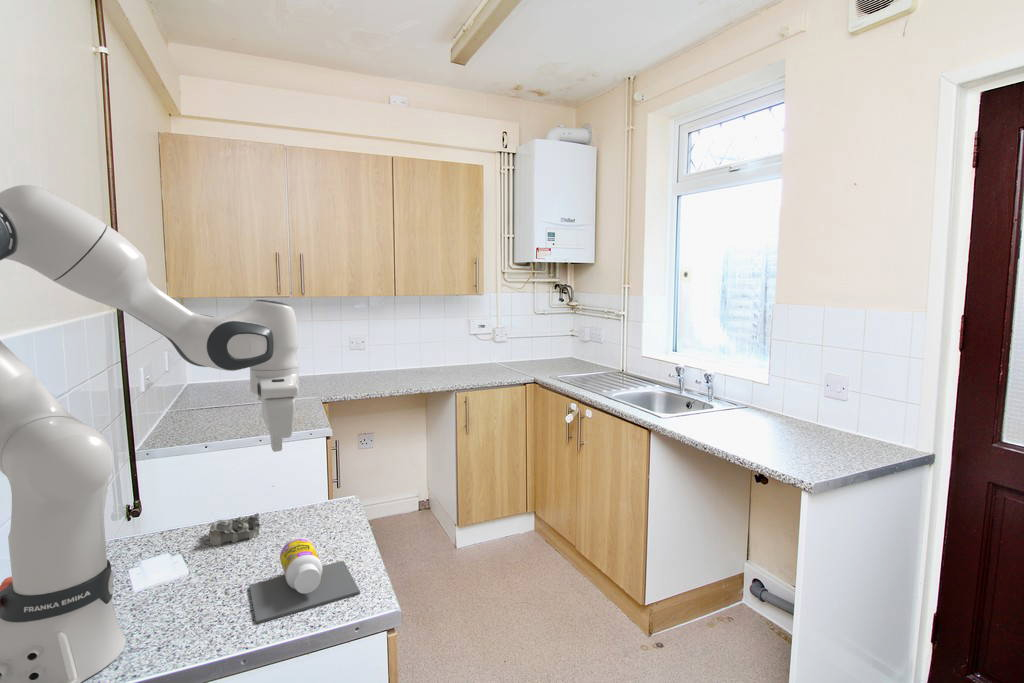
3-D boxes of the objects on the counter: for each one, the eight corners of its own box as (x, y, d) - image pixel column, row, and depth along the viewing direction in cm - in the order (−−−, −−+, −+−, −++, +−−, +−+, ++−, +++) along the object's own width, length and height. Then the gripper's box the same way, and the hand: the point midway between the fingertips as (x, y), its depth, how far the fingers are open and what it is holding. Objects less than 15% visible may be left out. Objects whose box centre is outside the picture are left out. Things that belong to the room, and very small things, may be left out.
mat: (256, 624, 91) (256, 621, 91) (249, 587, 102) (249, 584, 102) (359, 593, 101) (359, 591, 101) (343, 562, 112) (343, 560, 112)
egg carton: (207, 549, 118) (206, 531, 117) (211, 534, 125) (210, 517, 124) (260, 539, 122) (259, 523, 122) (261, 526, 129) (260, 510, 129)
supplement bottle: (309, 530, 110) (322, 557, 99) (316, 558, 111) (330, 588, 100) (275, 544, 106) (285, 574, 95) (283, 573, 108) (294, 605, 97)
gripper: (253, 375, 112) (255, 438, 113) (261, 391, 94) (263, 466, 95) (285, 373, 115) (286, 435, 116) (299, 389, 97) (300, 461, 99)
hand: (276, 449), depth 106 cm, fingers closed
